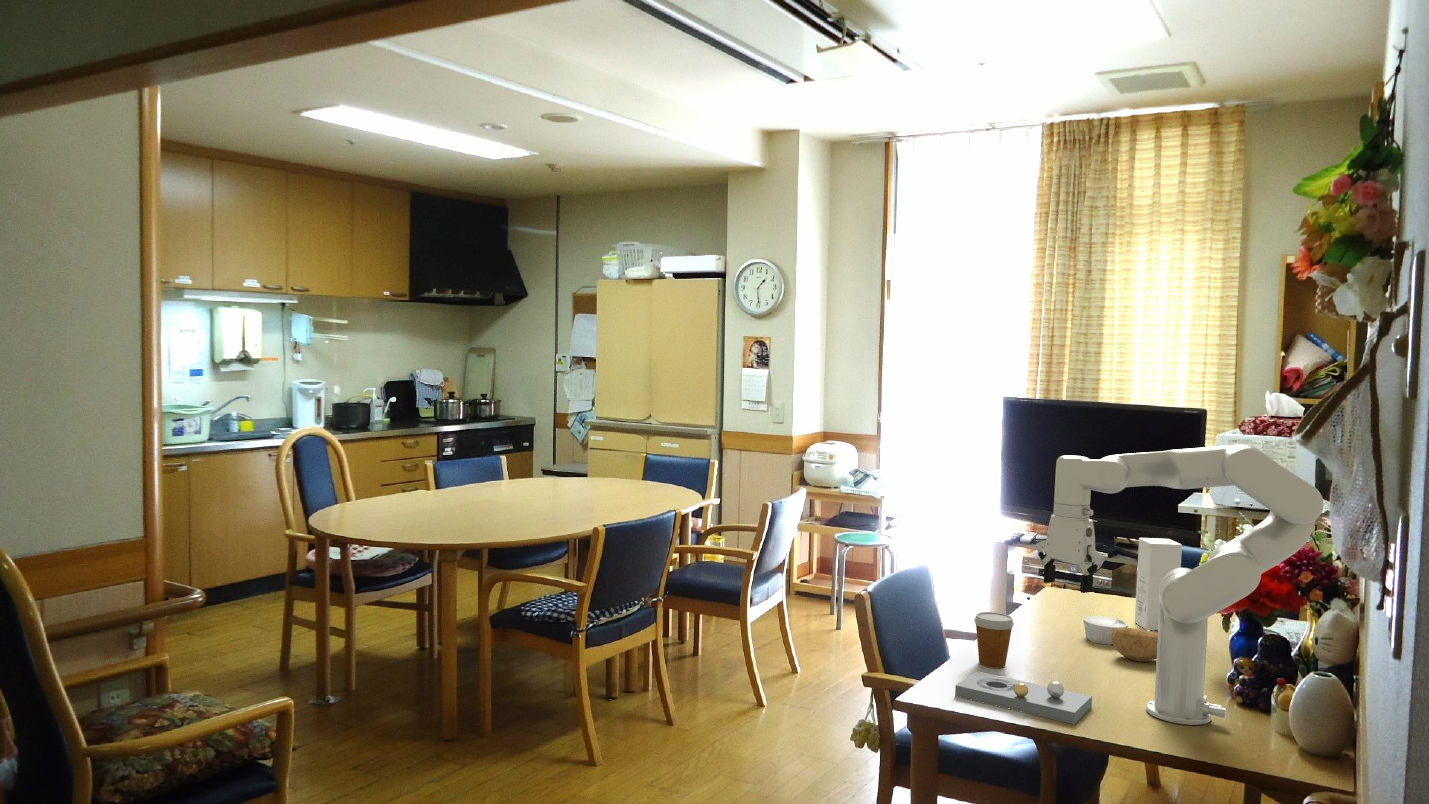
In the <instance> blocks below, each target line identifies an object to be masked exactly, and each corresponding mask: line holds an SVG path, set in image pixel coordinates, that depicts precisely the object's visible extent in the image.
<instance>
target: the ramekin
mask: <svg viewBox="0 0 1429 804" xmlns="http://www.w3.org/2000/svg"><path fill="white" fill-rule="evenodd" d="M1082 622H1083V624H1084V625H1083V626H1084V632H1085V633H1084V634H1085V637H1086V638H1087V640H1089V641H1091V642H1092V641H1094V642H1093V643H1096V644H1101V645H1107V644H1113V643H1112V641H1111V635H1112V633H1113V631H1114V630H1115V629H1117V628H1119V627H1128V628H1129V625H1128V623H1127V622H1126V621H1124V620H1122V619H1119V618H1115V617H1110V616H1102V615H1093V616H1092V615H1090V616H1085V617H1084V618H1083V621H1082Z"/></svg>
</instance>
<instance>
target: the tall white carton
mask: <svg viewBox="0 0 1429 804" xmlns="http://www.w3.org/2000/svg"><path fill="white" fill-rule="evenodd" d="M1182 549H1183V544H1181V543H1179V542H1177V541H1174V540H1172V539H1170V538H1155V537H1154V538H1153V537H1152V538H1151V537H1150V538H1149V537H1139V538H1138V551H1137V552H1138V553H1137V556H1138V558H1137V569H1136V589H1135V610H1134V612H1135V613H1134V623H1135V624H1136V623H1137V624H1136V625H1138V626H1139V627H1141V628H1142V627H1143V628H1142V629H1143V630H1145V629H1146V630H1158V624H1159V590H1160V584H1161V581H1162V579H1163V578H1164V576H1165V575H1166V574H1167V573H1168V572H1170V571H1171V570H1174V569H1177V568H1182V551H1183V550H1182Z"/></svg>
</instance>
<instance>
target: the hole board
mask: <svg viewBox="0 0 1429 804" xmlns="http://www.w3.org/2000/svg"><path fill="white" fill-rule="evenodd" d="M1018 683H1023V684H1025V685H1026V686H1027V687H1028V694H1027V695H1026V696H1025V697H1018V696H1017V695H1016V694H1015V693H1014V687H1015V685H1016V684H1018ZM1047 686H1048V685H1043V684H1038V683H1034V682H1028V681H1025V680H1024V681H1023V680H1020V679H1015V678H1010V677H1006V676H1001V675H996V674H993V673H987V672H982V671H975V672H974V673H972V674H970V675H969V676H968V677H966V678H964V679H963V680H961V681H960V682H958V683H957V684H955V687H954V688H955V690H954V696H955V697H956V698H960V697H961V698H960V699H964V700H965V699H966V700H969V699H972V700H971V701H973V700H975V701H974V702H977V701H979V702H978V703H981V702H984V703H983V704H986V703H987V704H986V705H990V704H991V705H990V706H994V705H997V706H996V707H998V706H1000V708H1003V707H1004V708H1003V709H1007V708H1010V709H1009V710H1011V709H1013V711H1015V710H1016V711H1017V712H1020V711H1022V712H1021V713H1024V712H1025V714H1028V715H1032V714H1034V715H1033V716H1037V715H1038V716H1037V717H1041V716H1042V717H1041V718H1046V719H1050V720H1054V719H1055V720H1054V721H1059V722H1062V723H1067V724H1071V725H1076V723H1077V722H1078V721H1079V720H1081V719H1082V718H1083V717H1084V716H1085V714H1087V712H1089V711H1090V710H1091V709H1092V706H1093V705H1092V704H1093V695H1089V694H1085V693H1079V692H1074V691H1070V690H1066V689H1064V694H1063V695H1062V696H1061V697H1060V698H1053V697H1051V696H1050V695H1049V694H1048V692H1047Z"/></svg>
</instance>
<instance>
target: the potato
mask: <svg viewBox="0 0 1429 804" xmlns="http://www.w3.org/2000/svg"><path fill="white" fill-rule="evenodd" d="M1111 641H1112V643H1113V645H1112V646H1113V647H1114V648H1115V650H1116V651H1117V652H1118V653H1119V654H1120V655H1122V656H1123V657H1125V658H1126V659H1130V660H1132V661H1134V662H1135V661H1136V662H1149V661H1153V660H1157V641H1158V631H1147V630H1145V629H1144V628H1134V627H1133V628H1132V627H1129V626H1128V627H1119V628H1117V629H1115V630H1114V631H1113V633H1112V635H1111Z"/></svg>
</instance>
